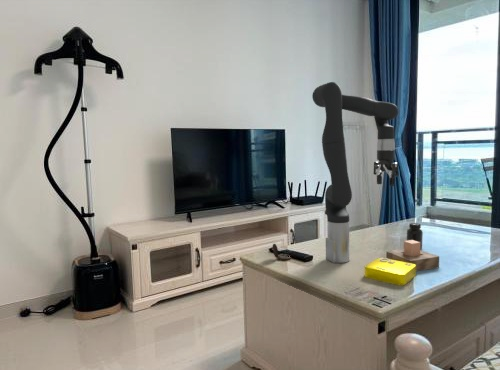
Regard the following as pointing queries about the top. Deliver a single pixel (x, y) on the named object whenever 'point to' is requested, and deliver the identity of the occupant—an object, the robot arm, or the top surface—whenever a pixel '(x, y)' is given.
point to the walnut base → (415, 259)
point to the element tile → (390, 271)
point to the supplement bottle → (415, 233)
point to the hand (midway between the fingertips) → (385, 185)
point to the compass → (280, 257)
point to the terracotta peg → (412, 248)
